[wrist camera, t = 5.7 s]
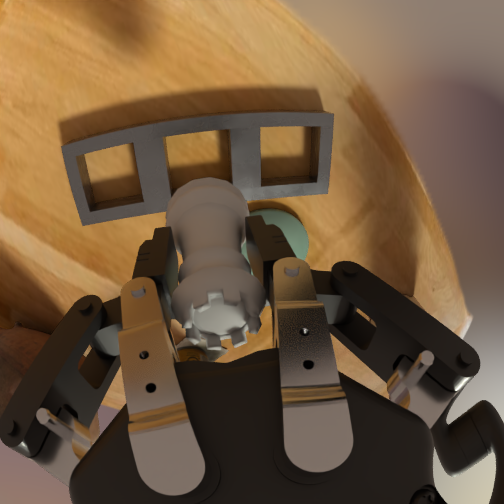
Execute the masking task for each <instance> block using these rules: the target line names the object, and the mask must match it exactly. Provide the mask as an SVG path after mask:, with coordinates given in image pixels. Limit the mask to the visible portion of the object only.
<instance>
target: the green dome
mask: <svg viewBox="0 0 504 504" xmlns="http://www.w3.org/2000/svg"><path fill="white" fill-rule="evenodd" d="M249 214H250V216H255V215H262V217H263V219H264V221H265V223H266V225H268V224H274V225H276V226H277V227H279V228H280V229H281V230H282V232H283V233H284V235H285V237H286V239H287V241H288V242H289V244H290V246H291V248H292V250H293V251H294V253H295V255H296V257H297V258H299V259H302V260H305V258H306V255H307V252H308V247H309V241H308V235H307V232H306V230H305V228H304V227H303V225H302V224H301V223H300V221H299V220H298V219H297V218H296V217H295V216H293V215H292V214H290V213H288V212H286V211H283V210H280V209H273V208H266V209H258V210H255V211H251V212H249ZM241 249H242V254H243V255H244V256H245V258H246V259H247V261H248V262H249V260H248V256H247V250H246V241H245V243H244V244H243V246H242V248H241ZM249 264H250V263H249ZM251 275H253V273H252V269H251Z"/></svg>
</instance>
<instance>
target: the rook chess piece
mask: <svg viewBox="0 0 504 504" xmlns="http://www.w3.org/2000/svg"><path fill="white" fill-rule="evenodd" d="M246 216H250V214H249V209H248V204H247V201H246V200H245V198H244V196H243V195H242V193H241V191H240V190H239V189H238V188H236V187H235V186H233V185H232V184H231V183H229V182H228V181H226V180H221V179H217V178H212V177H207V178H201V179H195V180H192V181H190V182H188V183H187V184H185V185H183V186H182V187H180V188H179V189H177V191H176V192H175V194H174V195H173V196H172V198H171V199H170V201H169V202H168V207H167V212H166V227H168V226H171V229H172V233H173V238H174V243H175V247H176V249H177V251H178V252H179V253H180V254H181V255H182V258H183V263H182V264H181V266H180V269H179V274H178V281H179V285H178V287H177V288H176V289H175V290H174V292H173V295H172V300H171V306H170V307H171V309H172V312H173V314H174V317H175V319H176V320H177V321H178V322H179V323H180V324H182V328H186V338H187V339H188V340H189V341H190V342H192V343H193V344H194V345H196V344H197V343H199V342H200V341H201V338H200V337H202V338H204V339H206V345H207V349H209V350H221V340H223V339H229V338H231V339H232V344H233V345H234V347H235V348H236V347H238V346H240V345H242V344H245V343H247V338H246V334H245V332H246V331H247V330H249V333H253V334H257V333H258V331H259V329H260V327H261V325H262V324H261V321H260V315H261V313H262V311H263V309H264V307H265V305H266V291H265V289H264V287H263V286H262V284H261V283H260V281H259V280H258V278H257V277H255V276H253V275H251V265H250V264H249V262H248V261H247V259H246V258H245V256H244V255H243V254H242V249H241V248H242V246H243V244H244V243H245V241H246V233H245V217H246Z"/></svg>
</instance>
